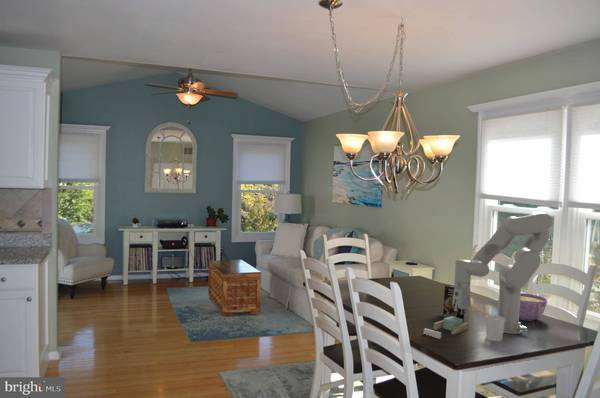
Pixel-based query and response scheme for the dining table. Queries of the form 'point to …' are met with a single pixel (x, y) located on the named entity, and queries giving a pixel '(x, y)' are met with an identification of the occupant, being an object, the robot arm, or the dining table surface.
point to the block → (451, 322)
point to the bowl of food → (531, 307)
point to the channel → (453, 330)
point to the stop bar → (432, 333)
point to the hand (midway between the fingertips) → (459, 321)
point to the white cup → (494, 327)
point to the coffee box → (449, 302)
